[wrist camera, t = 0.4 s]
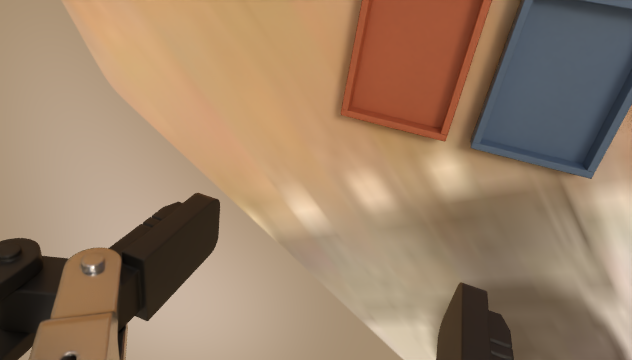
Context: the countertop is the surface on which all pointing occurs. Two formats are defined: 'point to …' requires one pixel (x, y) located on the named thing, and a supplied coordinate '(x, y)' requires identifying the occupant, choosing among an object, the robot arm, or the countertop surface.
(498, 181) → the countertop surface
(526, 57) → the slate tray
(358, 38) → the terracotta tray
